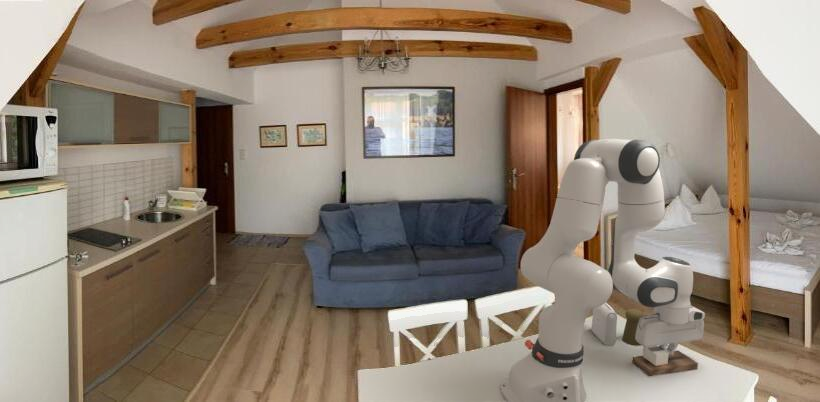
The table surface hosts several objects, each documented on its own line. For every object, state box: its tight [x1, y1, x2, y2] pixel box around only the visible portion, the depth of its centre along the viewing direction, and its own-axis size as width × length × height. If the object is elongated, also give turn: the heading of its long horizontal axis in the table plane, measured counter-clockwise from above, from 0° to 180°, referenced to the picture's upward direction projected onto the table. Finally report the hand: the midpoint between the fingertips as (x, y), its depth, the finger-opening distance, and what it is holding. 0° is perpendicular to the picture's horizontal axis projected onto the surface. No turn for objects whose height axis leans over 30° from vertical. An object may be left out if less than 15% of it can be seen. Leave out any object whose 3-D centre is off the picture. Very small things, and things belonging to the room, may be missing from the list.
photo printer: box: [591, 302, 618, 346], centre depth 136 cm, size 10×4×12 cm, turn 1°
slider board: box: [632, 350, 699, 377], centre depth 121 cm, size 16×7×2 cm, turn 101°
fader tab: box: [642, 345, 669, 366], centre depth 119 cm, size 4×5×4 cm
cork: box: [621, 308, 644, 347], centre depth 134 cm, size 6×6×11 cm
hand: (666, 355), depth 120 cm, fingers closed
